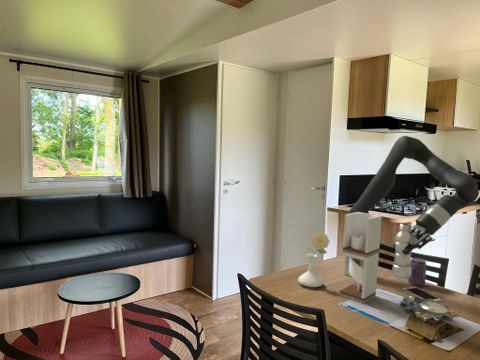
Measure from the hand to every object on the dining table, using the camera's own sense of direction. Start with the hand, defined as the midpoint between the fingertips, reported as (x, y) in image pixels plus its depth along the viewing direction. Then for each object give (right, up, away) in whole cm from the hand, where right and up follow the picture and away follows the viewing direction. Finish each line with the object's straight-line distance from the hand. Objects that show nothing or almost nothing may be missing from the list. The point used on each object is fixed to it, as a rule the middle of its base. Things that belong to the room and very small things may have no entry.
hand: (399, 250), depth 129 cm
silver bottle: (+1, -11, +1) cm, 11 cm away
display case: (-8, -24, +22) cm, 33 cm away
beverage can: (+25, -24, +38) cm, 51 cm away
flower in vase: (-25, -22, +32) cm, 46 cm away
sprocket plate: (+15, -26, +10) cm, 32 cm away
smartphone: (+22, -25, +26) cm, 42 cm away
